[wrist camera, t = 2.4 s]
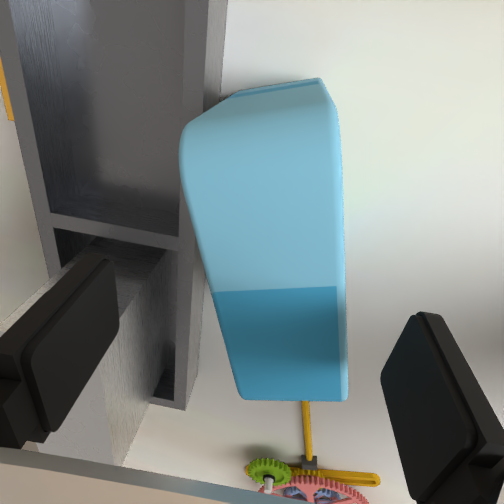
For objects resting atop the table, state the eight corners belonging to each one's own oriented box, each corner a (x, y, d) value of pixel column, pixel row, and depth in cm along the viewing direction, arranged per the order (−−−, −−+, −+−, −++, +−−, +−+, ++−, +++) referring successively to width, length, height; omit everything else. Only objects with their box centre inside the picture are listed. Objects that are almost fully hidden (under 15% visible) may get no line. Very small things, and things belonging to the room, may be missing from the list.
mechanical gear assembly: (262, 523, 48) (372, 529, 45) (259, 561, 44) (379, 569, 42) (223, 381, 33) (385, 379, 31) (215, 421, 29) (397, 422, 27)
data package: (239, 88, 19) (164, 134, 9) (321, 74, 18) (341, 107, 8) (268, 266, 25) (242, 416, 15) (330, 262, 24) (349, 419, 14)
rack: (237, -117, 15) (126, -386, 6) (197, 374, 32) (154, 503, 23) (7, -150, 15) (-443, -450, 6) (90, 352, 33) (6, 470, 24)
